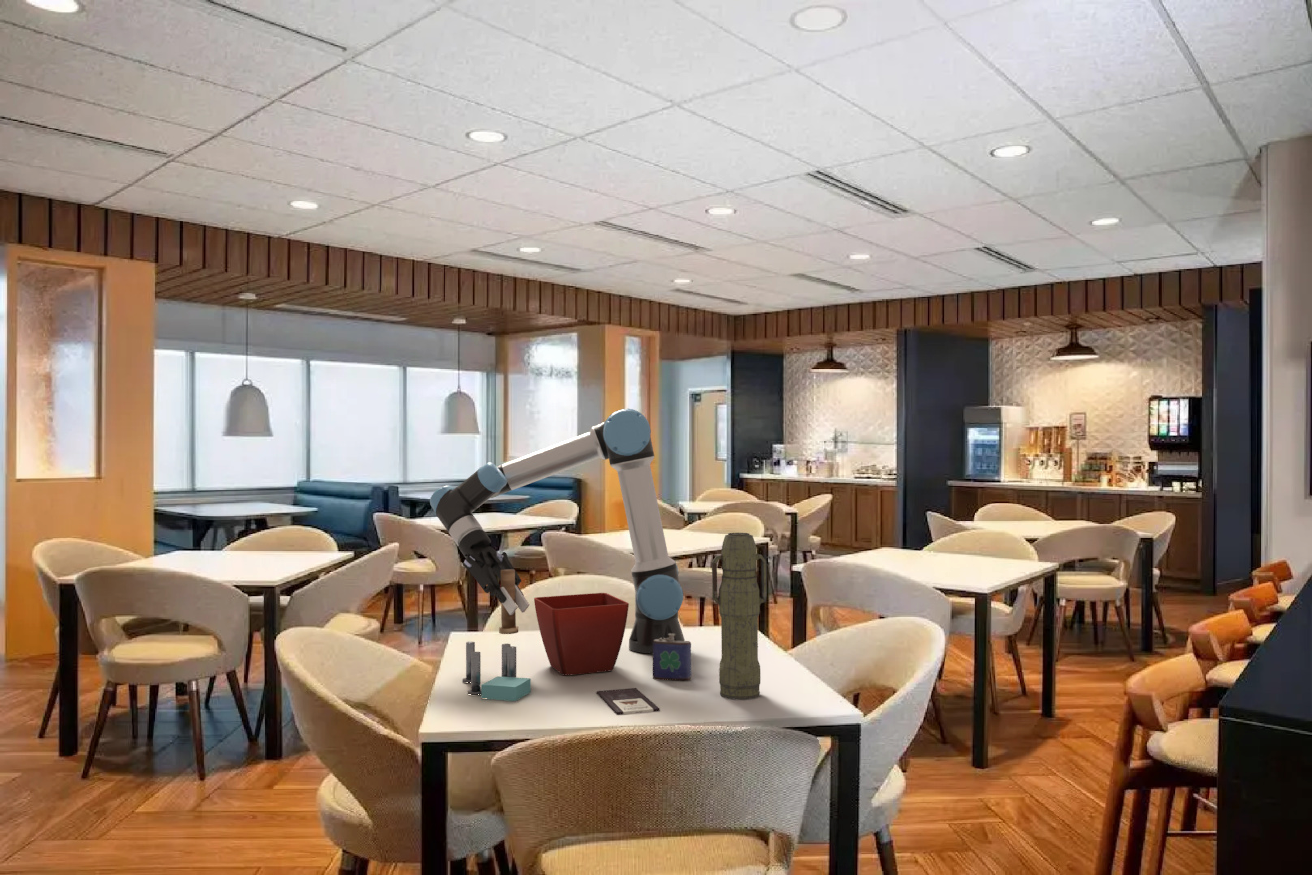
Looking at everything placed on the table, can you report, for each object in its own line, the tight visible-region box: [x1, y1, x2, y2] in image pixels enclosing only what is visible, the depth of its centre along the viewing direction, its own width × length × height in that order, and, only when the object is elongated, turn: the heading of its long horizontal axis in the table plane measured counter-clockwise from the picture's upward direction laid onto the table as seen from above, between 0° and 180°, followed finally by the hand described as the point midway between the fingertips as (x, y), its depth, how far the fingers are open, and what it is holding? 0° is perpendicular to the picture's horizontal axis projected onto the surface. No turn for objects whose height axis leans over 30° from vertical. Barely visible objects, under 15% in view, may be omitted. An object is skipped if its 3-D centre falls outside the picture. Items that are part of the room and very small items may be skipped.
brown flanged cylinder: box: [498, 568, 519, 635], centre depth 229 cm, size 5×5×15 cm
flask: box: [652, 633, 692, 682], centre depth 221 cm, size 9×3×11 cm, turn 74°
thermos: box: [711, 532, 768, 701], centre depth 207 cm, size 9×12×35 cm
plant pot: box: [533, 592, 630, 677], centre depth 232 cm, size 19×19×17 cm
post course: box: [462, 641, 517, 696], centre depth 213 cm, size 15×14×9 cm
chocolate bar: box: [596, 687, 661, 716], centre depth 201 cm, size 9×1×18 cm
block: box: [480, 675, 532, 702], centre depth 207 cm, size 8×8×3 cm
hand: (519, 609), depth 227 cm, fingers closed on brown flanged cylinder, 3 cm apart
